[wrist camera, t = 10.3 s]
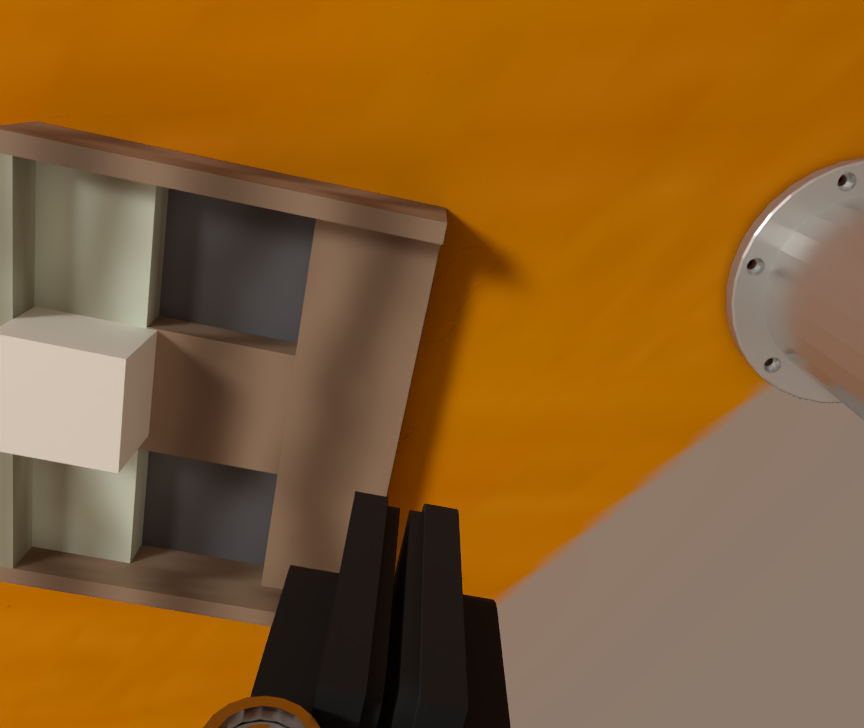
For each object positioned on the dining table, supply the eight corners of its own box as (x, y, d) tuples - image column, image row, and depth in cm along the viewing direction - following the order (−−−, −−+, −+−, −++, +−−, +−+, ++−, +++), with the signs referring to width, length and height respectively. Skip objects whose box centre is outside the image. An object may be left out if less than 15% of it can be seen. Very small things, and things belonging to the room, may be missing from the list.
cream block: (157, 330, 37) (125, 359, 33) (148, 435, 39) (118, 473, 35) (35, 305, 36) (-11, 332, 33) (33, 413, 38) (-10, 449, 35)
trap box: (446, 208, 36) (447, 223, 33) (363, 594, 45) (357, 640, 41) (35, 121, 35) (-12, 127, 31) (31, 537, 44) (-6, 580, 40)
